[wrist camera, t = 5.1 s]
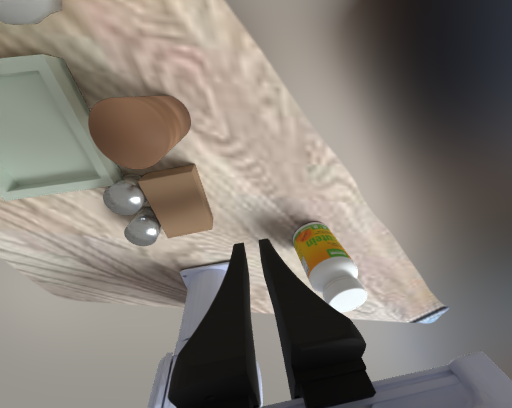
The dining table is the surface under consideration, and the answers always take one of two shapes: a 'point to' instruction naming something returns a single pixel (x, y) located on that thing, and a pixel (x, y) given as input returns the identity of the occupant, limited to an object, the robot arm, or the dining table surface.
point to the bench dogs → (133, 210)
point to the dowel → (138, 128)
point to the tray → (46, 132)
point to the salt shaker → (27, 10)
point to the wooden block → (178, 200)
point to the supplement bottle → (329, 267)
